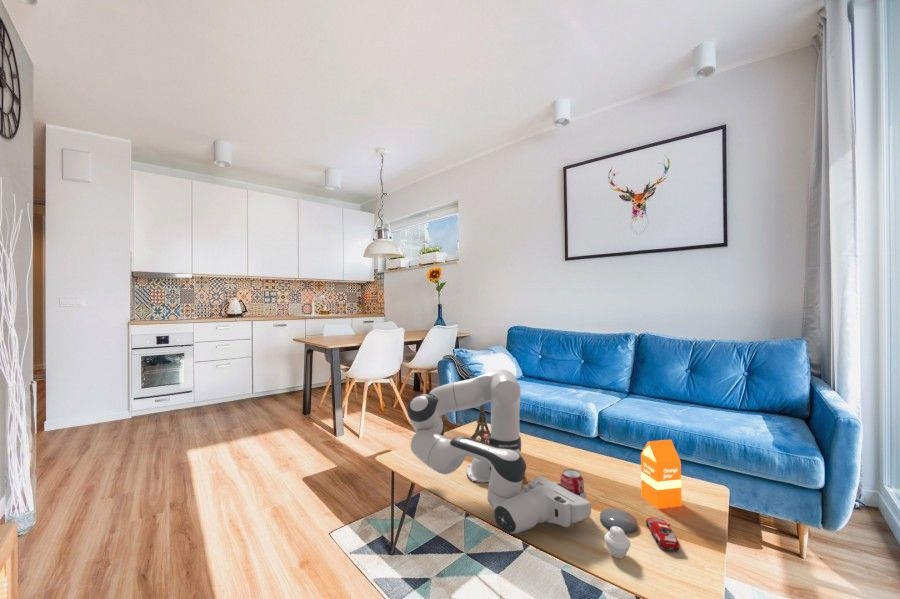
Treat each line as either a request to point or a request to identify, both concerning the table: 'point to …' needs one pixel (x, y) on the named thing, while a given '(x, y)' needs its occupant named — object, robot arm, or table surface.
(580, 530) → the table surface
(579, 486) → the soda can
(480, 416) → the eiffel tower
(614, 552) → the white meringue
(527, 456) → the table surface
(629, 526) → the grey rounded flat dome
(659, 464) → the orange juice
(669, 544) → the race car
